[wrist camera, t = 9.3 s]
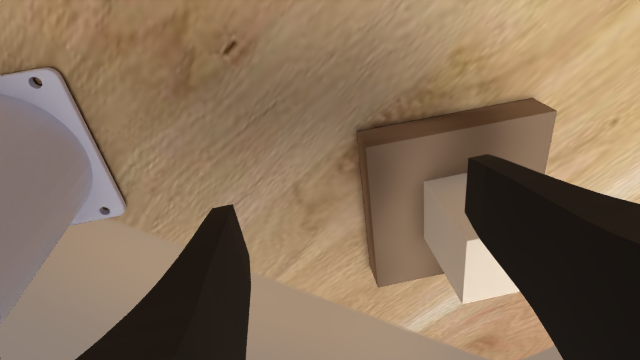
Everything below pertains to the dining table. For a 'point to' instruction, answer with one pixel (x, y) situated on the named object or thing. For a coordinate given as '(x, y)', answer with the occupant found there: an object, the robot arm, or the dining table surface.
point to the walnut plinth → (436, 174)
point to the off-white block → (460, 243)
